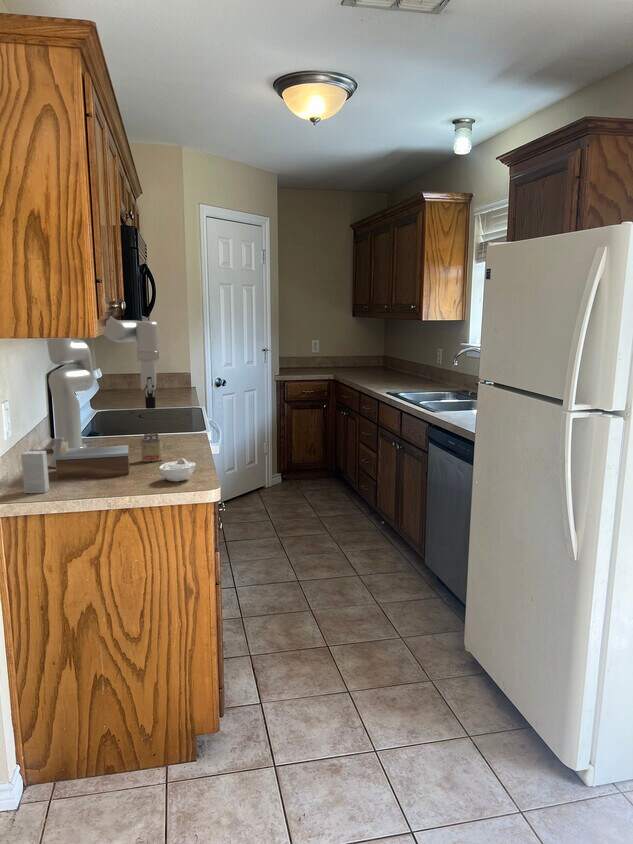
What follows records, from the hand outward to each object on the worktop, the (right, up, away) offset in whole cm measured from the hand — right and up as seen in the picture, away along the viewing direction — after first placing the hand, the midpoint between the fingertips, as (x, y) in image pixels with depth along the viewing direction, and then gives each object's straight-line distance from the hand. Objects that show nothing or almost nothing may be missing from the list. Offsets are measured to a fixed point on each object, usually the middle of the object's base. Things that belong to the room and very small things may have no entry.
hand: (150, 406), depth 220 cm
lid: (-15, -16, -14) cm, 26 cm away
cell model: (+15, -24, -23) cm, 37 cm away
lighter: (0, -20, +4) cm, 20 cm away
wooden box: (-15, -22, -13) cm, 30 cm away
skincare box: (-24, -26, -36) cm, 51 cm away
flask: (-30, -21, -5) cm, 37 cm away
